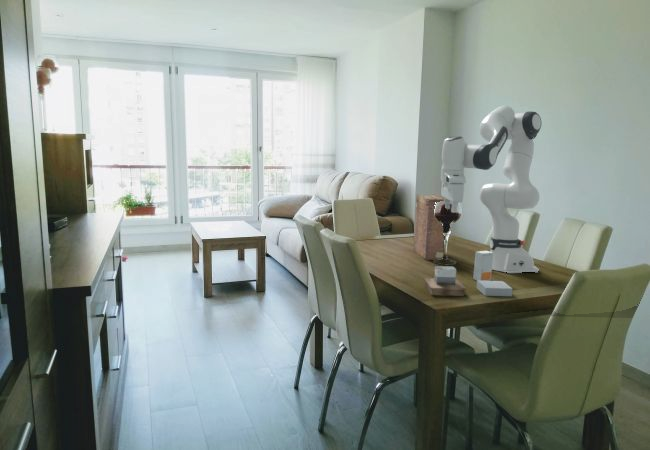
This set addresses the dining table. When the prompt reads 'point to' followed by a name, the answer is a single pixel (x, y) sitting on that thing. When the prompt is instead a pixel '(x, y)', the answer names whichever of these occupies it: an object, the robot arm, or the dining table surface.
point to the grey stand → (494, 288)
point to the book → (428, 229)
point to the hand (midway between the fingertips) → (450, 210)
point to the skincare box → (483, 265)
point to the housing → (445, 275)
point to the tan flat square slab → (444, 288)
